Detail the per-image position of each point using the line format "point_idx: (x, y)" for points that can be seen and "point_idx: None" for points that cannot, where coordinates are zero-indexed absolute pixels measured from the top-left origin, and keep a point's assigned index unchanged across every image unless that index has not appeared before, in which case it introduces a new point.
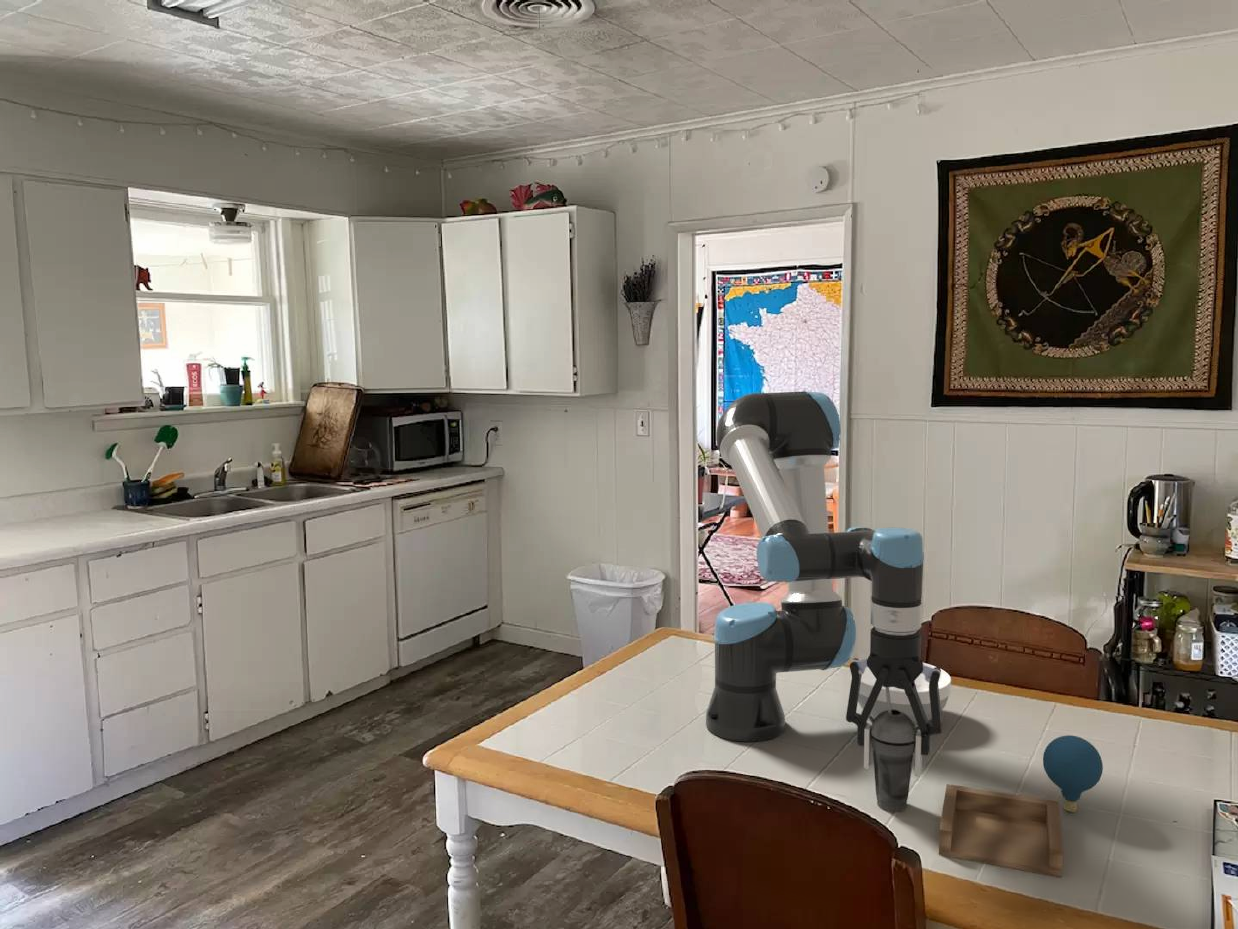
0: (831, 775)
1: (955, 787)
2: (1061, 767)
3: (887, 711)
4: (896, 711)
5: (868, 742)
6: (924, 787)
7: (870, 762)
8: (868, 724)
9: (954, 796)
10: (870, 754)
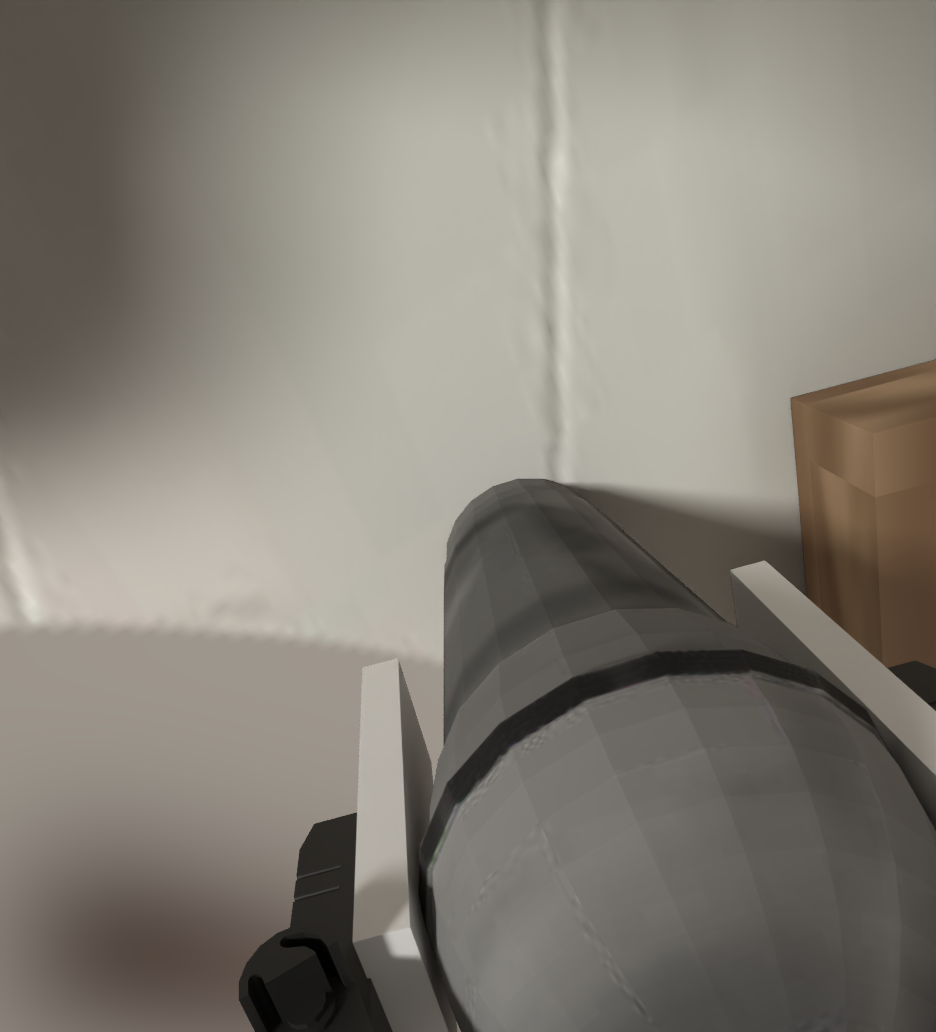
0: (46, 412)
1: (931, 451)
2: None
3: (638, 1028)
4: (772, 983)
5: None
6: (624, 213)
7: (407, 693)
8: (392, 975)
9: (933, 566)
10: (411, 741)
